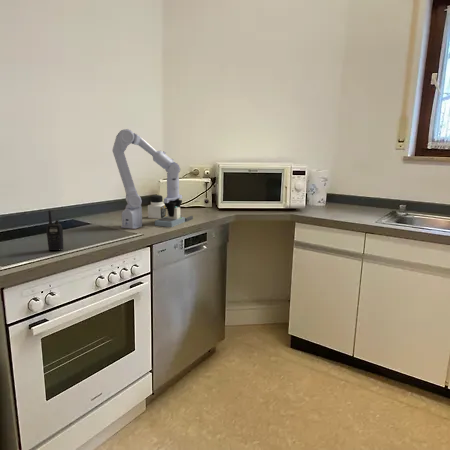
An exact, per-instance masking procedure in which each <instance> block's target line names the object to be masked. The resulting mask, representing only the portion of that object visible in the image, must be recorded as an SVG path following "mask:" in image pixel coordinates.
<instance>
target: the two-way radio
mask: <svg viewBox="0 0 450 450" xmlns="http://www.w3.org/2000/svg"><path fill="white" fill-rule="evenodd" d="M45 230H46V238H47V248H48V251H49V250H59V249H63V250H64V231H63V226H62V224H61V223H60V222H59V219H55V221H54V223H53V220H52V211H51V210H50V209H49V210H48V224H47V225H46V229H45Z"/></svg>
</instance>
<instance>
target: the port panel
mask: <svg viewBox="0 0 450 450" xmlns="http://www.w3.org/2000/svg"><path fill="white" fill-rule="evenodd" d="M185 218H186V217H185V216H181V217H180V218H179V219H169V218H168V215H166V216H165V217H163V218H161V219H158V218H157V219H155V220H154V226H155V227H157V226H158V227H159V228H160V229H161V228H162V227H164V228H168V229H171V228H173V227H175V226H178V225H181V224H183V223H185V222H186V221H185Z"/></svg>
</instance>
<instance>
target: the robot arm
mask: <svg viewBox="0 0 450 450" xmlns="http://www.w3.org/2000/svg"><path fill="white" fill-rule="evenodd" d="M129 145H136V146H138V147H140V148H141V149H143V150H144V151H146V152H147V154H149V155H150V156H152V160H153V162H155V163H156V164H157V165H159V167H161V168H162V169H165V171H166V197H163V204H165V206H166V211H167V210H168V211H167V215H168V214H169V216H170V217H174V209H175V206H177V207H180V208H181V205H182V202H183V195H182V194H180V178H179V177H180V176H179V175H180V174H179V173H180V172H181V168H180V164H178V162H175V161H174V159H173V158H171V157H170V156H169V155H167V154H166V153H167V152H165V151H162V150H157V149H155V148H154V147H153V146H152V145H151V144H150V143H148V141H146V140H145V139H144V138H143V137H142V136H140V135H138V134H137V133H135V132H133V131H132V130H131V129H129V128H124V129H121V130H119V132H118V133H117V134H116V136H115V139H114V143H113V147H112V154H113V157H114V160H115V163H116V166H117V170H118V172H119V175H120V178H121V181H122V184H123V188H124V191H125V201H126V203H127V204H126V205H125V209H124V210H123V211H121V226H120V228H125V229H133V230H135V229H139V228H141V227H144V225H143V206H142V201H143V200H142V197H141V196H140V195H139V194H138V192H137V189H136V186H135V183H134V180H133V176H132V174H131V171H130V168H129V165H128V161H127V158H126V155H125V152H126V150H127V148H128V147H129Z"/></svg>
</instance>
